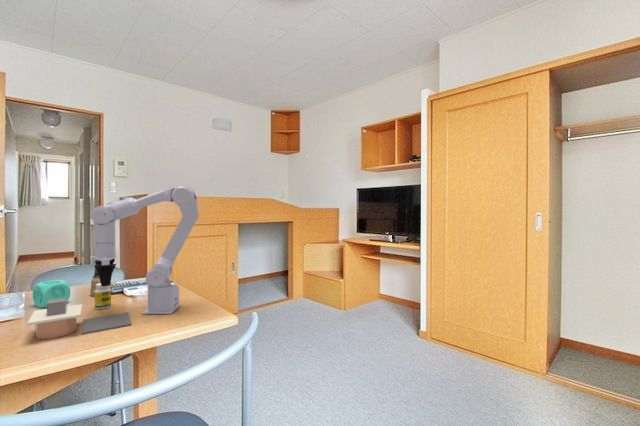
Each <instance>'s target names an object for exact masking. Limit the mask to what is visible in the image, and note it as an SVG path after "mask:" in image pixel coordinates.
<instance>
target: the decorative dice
mask: <svg viewBox="0 0 640 426" xmlns="http://www.w3.org/2000/svg"><path fill="white" fill-rule="evenodd" d="M70 296H71V287H70V285H69V283H68V282H67V281H66V280H64V279H53V280H52V279H51V280H45V281H41V282H38V283H37V284H36V285H35V286H34V287H33V289H32V300H33V303H34V305H35V306H36V307H37V308H40V309H47V302H48V300H52V299H60V298H67V302H68V301H69V299H70Z"/></svg>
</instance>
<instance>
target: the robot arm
mask: <svg viewBox="0 0 640 426" xmlns="http://www.w3.org/2000/svg"><path fill="white" fill-rule="evenodd" d="M162 202H170V203H172V202H173V203H175V204H176V205H177V206H178V207H179V210H180V213H181V215H182V217H181V219H180V220H179V223H178V224H177V226H176V228H175V230H174V231H173V233H172V235H171V237H170V239H169V241H168V243H167V245H166V246H165V248H164V250H163V252H162V253H161V256H160V257H159V258H158V260H157V262H156V263H155V265H154V267H152V268H151V269H150V270H148V271H147V273H146V275H145V282H146V284H147V308H146V310H144V311H143V312H141V314H142V315H161V314H162V315H164V314H167V315H169V314H172V313H174V312H175V311H176V310H177V309H178V308H179V307H180V289H179V288H180V287H179V286H178V285H177V284H172V281H171V280H170V277H172V273H173V271H172V270H173V269H172V268H173V266H174V264H175V261H176V259H177V257H179V254H180V252H181V250H182V249H183V246H184V244H185V243H186V241H187V239H188V237H189V236H190V233H191V232H192V230H193V228H194V226H195V224H196V223H197V221H198V219H199V216H200V212H199V205H198V196H197V195H196V193H195V191H194V189H192V188H190V187H188V186H183V185H179V186H176V187H170V188H166V189H162V190H159V191H157V192H154V193H151V194H148V195H146V196H142V197H140V198H133V197H130V196H129V197H128V196H125V197H122V198H121V200H118V201H115V202H107V203H106V205H98V206H96V207H95V208H93V209H92V210H91V212H90V218H91V220H92V222H93V228H94V229H93V231H94V232H93V240H94V245H93V246H94V247H93V248H94V252H93V253H94V255H92V256H90V257H89V259H90V260H95V261H94V269H95V268H96V270H97V272H98V274H99V278H100V282H101V286H109V285H110V282H111V283H112V275H113V272H114V270H115V268H116V267H117V264H116V263H115V261H116V258H117V254H116V221H117V220H122V219H124V218H128V217H130V216H133V215H136V214H139V212H140V210H142V208H145V207H148V206H152V205H155V204H158V203H162Z"/></svg>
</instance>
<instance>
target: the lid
mask: <svg viewBox="0 0 640 426" xmlns="http://www.w3.org/2000/svg"><path fill="white" fill-rule="evenodd" d="M82 308H83V303H81V304H73V305H68V301H67V298H60V299H52V300H48V302H47V308H42V309H37V310H34V311H33V313H32V315H31V316H30V318H29V319H28V321H27V324H26V325H27V326H31V325H35V324H39V323H45V322H51V321H57V320H64V319H70V318H76V319H77V318H80V317H81V314H82V311H83V309H82Z"/></svg>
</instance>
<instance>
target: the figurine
mask: <svg viewBox="0 0 640 426" xmlns="http://www.w3.org/2000/svg"><path fill="white" fill-rule="evenodd" d="M99 283H101V282H100V278H99V274H98V272H97V270H96V268H95V267H94V274H93V276H92V279H91V284H90V297H94V298H95V290H96V284H99ZM109 288H110V289H111V292H112V293H113V286H112V281H111V282H110V287H109Z"/></svg>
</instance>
